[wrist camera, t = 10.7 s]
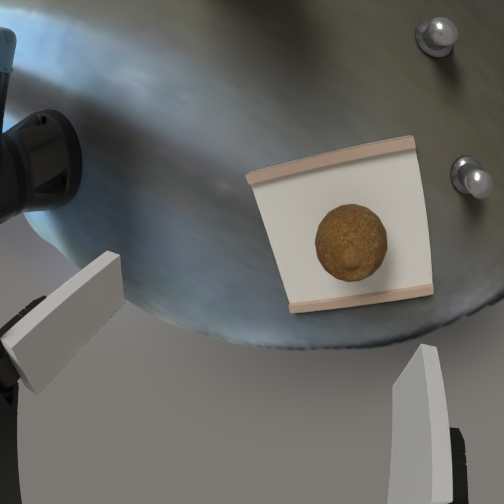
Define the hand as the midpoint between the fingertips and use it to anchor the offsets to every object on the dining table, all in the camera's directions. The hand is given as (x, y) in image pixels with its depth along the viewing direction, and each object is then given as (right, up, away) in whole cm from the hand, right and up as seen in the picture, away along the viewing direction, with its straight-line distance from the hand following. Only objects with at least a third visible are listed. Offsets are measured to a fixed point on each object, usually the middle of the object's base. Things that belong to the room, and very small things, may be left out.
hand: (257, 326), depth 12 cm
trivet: (+9, +5, +18) cm, 21 cm away
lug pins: (+18, +16, +9) cm, 26 cm away
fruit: (+9, +6, +17) cm, 20 cm away
